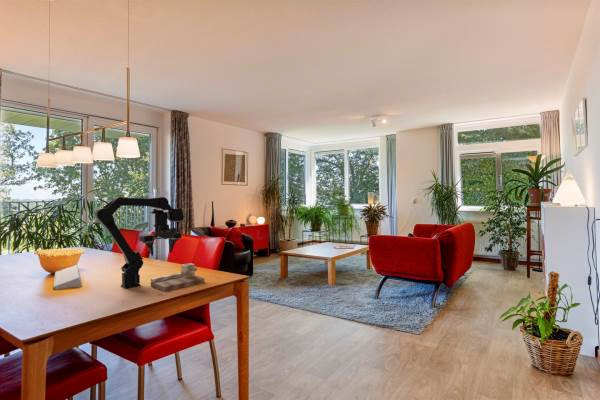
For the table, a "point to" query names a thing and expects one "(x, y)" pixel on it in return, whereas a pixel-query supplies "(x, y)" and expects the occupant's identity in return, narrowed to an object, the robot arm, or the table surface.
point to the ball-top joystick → (188, 270)
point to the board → (174, 282)
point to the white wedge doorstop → (67, 278)
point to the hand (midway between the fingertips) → (161, 254)
